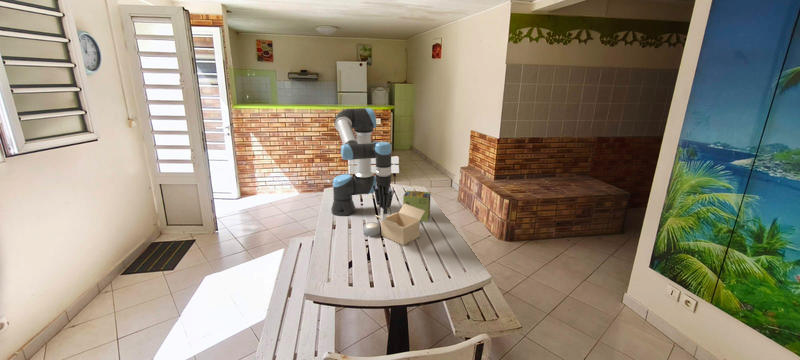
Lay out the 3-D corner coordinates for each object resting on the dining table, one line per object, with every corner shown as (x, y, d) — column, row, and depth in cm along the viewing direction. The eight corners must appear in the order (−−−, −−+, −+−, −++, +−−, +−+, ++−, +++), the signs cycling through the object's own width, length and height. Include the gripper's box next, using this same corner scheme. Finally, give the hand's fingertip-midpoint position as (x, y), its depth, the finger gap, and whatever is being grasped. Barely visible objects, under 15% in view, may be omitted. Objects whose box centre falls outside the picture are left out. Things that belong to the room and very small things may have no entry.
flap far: (419, 219, 183) (420, 220, 183) (425, 210, 185) (425, 211, 185) (398, 212, 192) (399, 212, 193) (404, 203, 194) (404, 203, 195)
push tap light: (360, 233, 189) (360, 225, 187) (372, 228, 195) (372, 220, 194) (371, 238, 183) (371, 230, 181) (383, 233, 189) (383, 225, 188)
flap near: (381, 219, 183) (380, 220, 182) (375, 214, 178) (374, 215, 178) (402, 228, 173) (402, 228, 173) (396, 223, 169) (396, 223, 168)
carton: (380, 235, 186) (380, 218, 183) (396, 228, 196) (397, 211, 193) (404, 246, 176) (404, 228, 173) (420, 237, 185) (420, 220, 182)
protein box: (428, 222, 204) (428, 197, 199) (402, 219, 207) (403, 195, 202) (430, 215, 214) (431, 191, 209) (405, 213, 217) (406, 190, 212)
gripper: (368, 173, 167) (369, 217, 174) (387, 178, 158) (387, 225, 165) (379, 170, 172) (379, 213, 179) (398, 175, 164) (398, 220, 171)
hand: (383, 219), depth 172 cm, fingers closed
